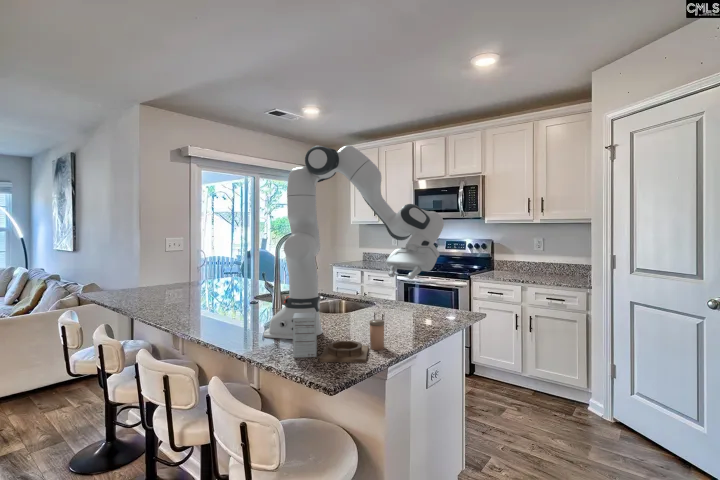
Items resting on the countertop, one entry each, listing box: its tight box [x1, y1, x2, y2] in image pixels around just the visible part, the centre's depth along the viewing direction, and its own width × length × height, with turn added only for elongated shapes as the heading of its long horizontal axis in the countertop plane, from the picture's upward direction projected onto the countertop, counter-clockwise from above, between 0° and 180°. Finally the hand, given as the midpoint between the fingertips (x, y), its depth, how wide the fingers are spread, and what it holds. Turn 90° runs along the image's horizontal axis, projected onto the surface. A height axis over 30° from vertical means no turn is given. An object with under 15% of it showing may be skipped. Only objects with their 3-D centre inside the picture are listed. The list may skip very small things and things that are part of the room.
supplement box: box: [292, 313, 318, 359], centre depth 125 cm, size 7×7×13 cm
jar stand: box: [318, 340, 370, 364], centre depth 124 cm, size 14×14×3 cm
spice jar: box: [369, 319, 385, 351], centre depth 131 cm, size 5×5×9 cm
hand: (400, 277), depth 138 cm, fingers open, 8 cm apart
